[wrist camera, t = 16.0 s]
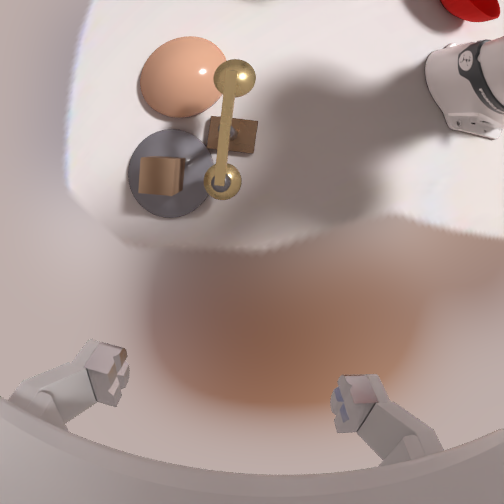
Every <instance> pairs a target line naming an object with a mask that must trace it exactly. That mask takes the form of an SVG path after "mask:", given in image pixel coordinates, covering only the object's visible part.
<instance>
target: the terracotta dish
mask: <svg viewBox="0 0 504 504" xmlns="http://www.w3.org/2000/svg"><path fill="white" fill-rule="evenodd" d="M225 61H226V58H225V56H224V54H223V53H222V51H221V50H220V49H219V48H218V47H217V46H216V45H215V44H213V43H212V42H210V41H208V40H206V39H203V38H199V37H181V38H176V39H173V40H171V41H168V42H166V43H165V44H163V45H161V46H160V47H159V48H157V49H156V50H155V51H154V52H153V53H152V54H151V55H150V57H149V58H148V59H147V61H146V63H145V65H144V67H143V70H142V73H141V79H140V86H141V91H142V95H143V97H144V99H145V101H146V102H147V103H148V105H149V106H150V107H151V108H153V109H154V110H155V111H157V112H159V113H161V114H163V115H166V116H170V117H176V118H184V117H190V116H194V115H197V114H199V113H202V112H203V111H205V110H207V109H208V108H210V107H211V106H212V105H213V104H215V103H216V102H217V100H218V99H219V98H220V97H221V95H222V94H221V93H220V92H219V91H218V90H217V88H216V87H215V84H214V80H213V77H214V73H215V71H216V69H217V68H218V66H219V65H221V64H222V63H224V62H225Z"/></svg>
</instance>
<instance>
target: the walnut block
mask: <svg viewBox="0 0 504 504" xmlns="http://www.w3.org/2000/svg"><path fill="white" fill-rule="evenodd" d="M185 160H186V158H178V157H163V156H150V157H141V161H140V174H139V191H138V193H143V194H155V195H166V196H173V195H175V194H177V193H178V192H180V191H182V190H183V180H184V170H185Z"/></svg>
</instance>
